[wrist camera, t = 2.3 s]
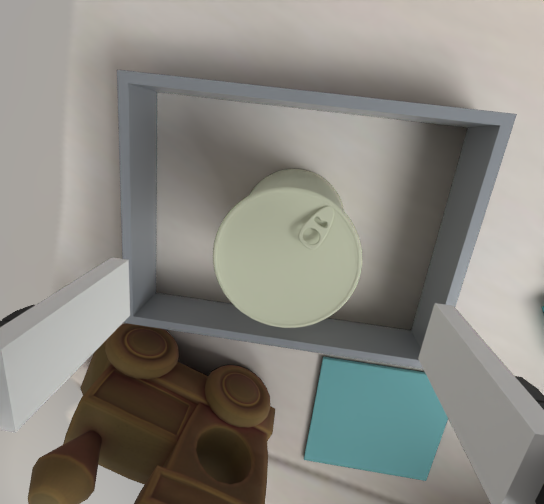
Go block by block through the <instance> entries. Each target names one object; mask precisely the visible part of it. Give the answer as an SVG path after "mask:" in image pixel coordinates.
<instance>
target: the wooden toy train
mask: <svg viewBox="0 0 544 504" xmlns="http://www.w3.org/2000/svg"><path fill="white" fill-rule="evenodd" d="M178 358H179V353H178V345H177V343H176V341H175V339H174V338H173V337H172V336H171V335H170V334H169V333H168V332H167V331H166V330H165V329H161V328H154V327H148V326H141V325H135V324H128V323H126V324H122V325H120V326H119V327H118V328H117V329H116V330H115V331H114V332H113V334H112V335H111V336H110V337H109V338H108V339H107V340H106V341H105V342H104V343H103V344H102V345H101V346H100V347H99V348H98V349H97V350H96V351H95V352H94V354H93V357H92V359H91V362H90V365H89V367H88V370H87V373H86V375H85V378H84V380H83V383H82V386H81V391H82V393H83V397H82V398H81V400H80V402H79V404H78V406H77V409H76V411H75V413H74V415H73V418H72V420H71V423H70V425H69V428H68V431H67V433H66V436H65V440H64V444H63V445H62V446H60V447H59V448H57V449H55V450H53V451H52V452H49V453H48V454H46V455H44V456H42V457H40V458H39V459H38V461H37V462H36V464H35V465H34V467H33V470H32V476H31V483H30V488H29V495H28V502H29V504H80V503H81V502H83V501H85V500H86V499H88V497H89V496H90V495H91V494H92V492H93V491H94V488H95V481H96V475H97V468H98V465H101V466H103V467H105V468H107V469H109V470H111V471H113V472H116V473H118V474H120V475H122V476H124V477H126V478H128V479H131V480H134V481H137V482H139V483H142V484H145V485H144V487H143V488H142V490H141V491H140V493H139V495H138V497H137V499H136V501H135V503H134V504H265V495H266V484H267V466H268V451H267V441H268V439H269V438H270V436H271V435H272V432H273V424H274V415H275V408H272V407H270V396H269V393H268V390H267V388H266V386H265V385H264V383H263V382H262V380H261V379H260V378H259V377H258V376H257V375H255V374H254V373H253V372H251V371H249V370H248V369H246V368H243V367H240V366H234V365H226V366H221V367H219V368H217V369H216V370H214V371H212V372H211V373H210V374H209V376H206V375H204V374H202V373H200V372H198V371H196V370H194V369H192V368H190V367H188V366H186V365H184V364H182V363H179V362H177V361H178Z"/></svg>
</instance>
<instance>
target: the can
mask: <svg viewBox="0 0 544 504" xmlns="http://www.w3.org/2000/svg"><path fill="white" fill-rule="evenodd" d="M213 265H214V270H215V274H216V277H217V280H218V282H219V285H220V287H221V289H222V290H223V292H224V294H225V295H226V297H227V298H228V299H229V300H230V302H231V303H232V304H233V305H234V306H235V307H236V308H237V309H239V310H240V311H241V312H242V313H244V314H245V315H247V316H249V317H250V318H252V319H254V320H256V321H258V322H261V323H264V324H267V325H270V326H275V327H282V328H296V327H303V326H308V325H312V324H315V323H317V322H320V321H322V320H324V319H326V318H328V317H329V316H331V315H332V314H334V313H335V312H336V311H338V310H339V309H340V308H341V307H342V306H343V305H344V304H345V303H346V302H347V300H348V299H349V298H350V296H351V295H352V293H353V291H354V290H355V288H356V286H357V283H358V280H359V277H360V274H361V268H362V248H361V243H360V239H359V236H358V234H357V231H356V229H355V227H354V225H353V223H352V222H351V220H350V219H349V217H348V216H347V215H346V213H345V212H344V209H343V205H342V202H341V199H340V197H339V195H338V193H337V192H336V190H335V189H334V188H333V187H332V185H331V184H330V183H329V182H327V181H326V180H325V179H324V178H322V177H321V176H319V175H317V174H315V173H313V172H310V171H307V170H302V169H286V170H281V171H278V172H275V173H273V174H271V175H269V176H267V177H265V178H264V179H263V180H261V181H260V182H259V183H258V184H257V185H256V186H255V187H254V189H253V190H252V192H251V193H250V195H249V196H248V197H246V198H244V199H243V200H242V201H240V202H239V203H238V204H237V205H236V206H234V207H233V208H232V210H231V211H230V212H229V213H228V214H227V215H226V217H225V218H224V220H223V221H222V223H221V225H220V227H219V229H218V232H217V234H216V238H215V241H214V248H213Z"/></svg>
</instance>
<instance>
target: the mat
mask: <svg viewBox="0 0 544 504" xmlns="http://www.w3.org/2000/svg"><path fill="white" fill-rule="evenodd" d="M447 420H448V417H447V415H446V413H445V411H444V409H443V407H442V405H441V403H440V401H439V399H438V397H437V395H436V393H435V391H434V389H433V387H432V385H431V383H430V381H429V379H428V377H427V375H426V373H425V372H420V371H414V370H407V369H401V368H394V367H388V366H382V365H375V364H369V363H362V362H356V361H349V360H343V359H336V358H330V357H323V360H322V365H321V370H320V376H319V381H318V386H317V392H316V397H315V402H314V407H313V413H312V418H311V423H310V428H309V434H308V439H307V444H306V449H305V455H304V460H308V461H314V462H320V463H325V464H331V465H337V466H343V467H348V468H354V469H360V470H366V471H372V472H377V473H383V474H389V475H395V476H401V477H406V478H412V479H418V480H424V481H426V480H427V477H428V474H429V471H430V468H431V466H432V463H433V460H434V457H435V454H436V451H437V449H438V446H439V443H440V440H441V437H442V434H443V432H444V429H445V426H446V423H447Z"/></svg>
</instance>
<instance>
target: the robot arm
mask: <svg viewBox="0 0 544 504" xmlns="http://www.w3.org/2000/svg"><path fill="white" fill-rule="evenodd" d="M129 316H130V293H129V260H126V259H119V258H112V257H111V258H110V259H108V260H107V261H105V262H103V263H102V264H100V265H99V266H97V267H96V268H94V269H92V270H91V271H89V272H88V273H86V274H84V275H83V276H81V277H80V278H78V279H76V280H75V281H73V282H72V283H70V284H68V285H67V286H65V287H64V288H62V289H60V290H59V291H57V292H56V293H54V294H53V295H51V296H49V297H48V298H46V299H45V300H43V301H41V302H40V303H38V304H37V305H31V306H28V307H25V308H23V309H20V310H17V311H15V312H13V313H12V314H10V315H8V316H7V317H5V318H3V319H2V321H0V430H4V431H9V432H15V433H16V432H17V431H18V430H19V429H20V428H21V427H22V426H23V425H24V424H25V423H26V422H27V421H28V420H29V419H30V417H31V416H32V415H33V414H34V413H35V412H36V411H37V410H38V409H39V408H40V407H41V406H42V405H43V404H44V403H45V402H46V401H47V400H48V399H49V398H50V397H51V396H52V395H53V394H54V393H55V392H56V391H57V390H58V389H59V388H60V387H61V386H62V385H63V384H64V383H65V382H66V381H67V380H68V379H69V378H70V377H71V376H72V375H73V373H74V372H75V371H76V370H77V369H78V368H79V367H80V366H81V365H82V364H83V363H84V362H85V361H86V360H87V359H88V358H89V357H90V356H91V355H92V354H93V353H94V352H95V351H96V350H97V349H98V348H99V347H100V346H101V345H102V344H103V343H104V342H105V341H106V340H107V339H108V338H109V337H110V336H111V335H112V334H113V332H114V331H115V330H116V329H117V328H118V327H119V326H120V325H121V324H122V323H123V322H124V321H125V320H126V319H127V318H128V317H129ZM418 359H419V361H420V363H421V365H422V367H423V369H424V371H425V373H426V375H427V377H428V379H429V381H430V383H431V385H432V387H433V389H434V391H435V393H436V395H437V397H438V399H439V401H440V403H441V405H442V407H443V409H444V411H445V413H446V415H447V417H448V419H449V421H450V423H451V425H452V427H453V429H454V431H455V433H456V435H457V437H458V439H459V441H460V443H461V445H462V447H463V449H464V451H465V453H466V455H467V457H468V459H469V461H470V463H471V465H472V467H473V469H474V471H475V473H476V475H477V477H478V479H479V481H480V483H481V485H482V487H483V489H484V491H485V493H486V495H487V497H488V499H489V501H490V503H491V504H544V395H543V394H542V393H541V392H540V391H539V390H538V389H537V388H536V387H534V386H533V385H532V384H530V383H529V382H527V381H526V380H525V379H523V378H522V377H517V376H514V375H513V374H512V373H511V371H510V370H509V369H508V368H507V367H506V366H505V365H504V363H503V362H502V361H501V360H500V359H499V358H498V356H497V355H496V354H495V353H494V352H493V351H492V350H491V348H490V347H489V346H488V345H487V344H486V343H485V341H484V340H483V339H482V338H481V337H480V336H479V335H478V333H477V332H476V331H475V330H474V329H473V328H472V326H471V325H470V324H469V323H468V322H467V321H466V320H465V318H464V317H463V316H462V315H461V314H460V313H459V311H458V310H457V309H456V308H455V307H454V306H452V305H445V304H438V303H435V304H434V307H433V311H432V314H431V317H430V321H429V324H428V327H427V331H426V334H425V337H424V341H423V344H422V347H421V351H420V354H419V357H418Z"/></svg>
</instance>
